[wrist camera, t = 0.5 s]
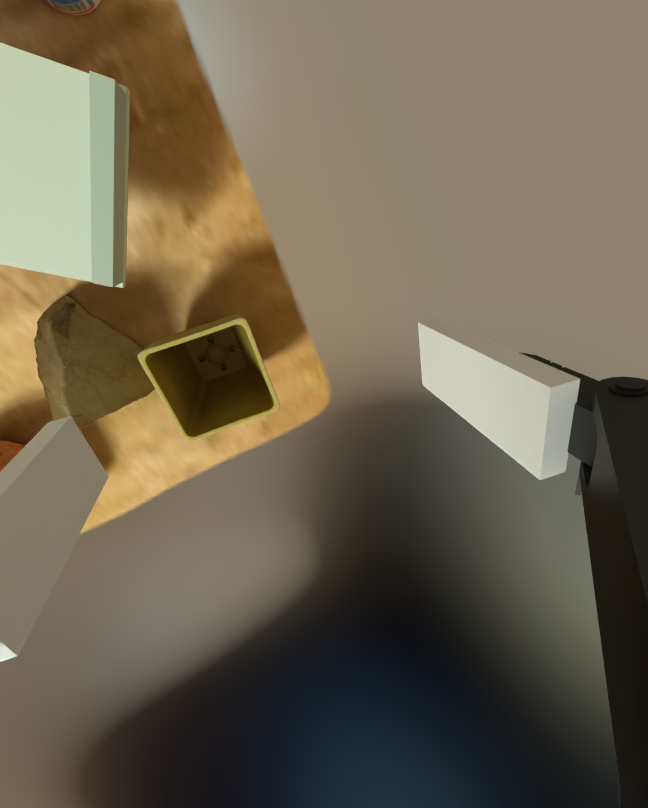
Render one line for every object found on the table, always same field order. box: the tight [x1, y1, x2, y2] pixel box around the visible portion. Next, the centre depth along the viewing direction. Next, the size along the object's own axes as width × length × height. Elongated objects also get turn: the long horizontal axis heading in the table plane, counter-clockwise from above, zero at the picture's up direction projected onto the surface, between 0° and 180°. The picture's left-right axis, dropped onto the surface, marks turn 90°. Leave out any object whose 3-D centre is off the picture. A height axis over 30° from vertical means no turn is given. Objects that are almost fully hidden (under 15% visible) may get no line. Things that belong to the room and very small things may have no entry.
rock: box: [34, 296, 155, 426], centre depth 32 cm, size 11×9×10 cm
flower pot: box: [138, 314, 280, 442], centre depth 33 cm, size 9×9×9 cm
